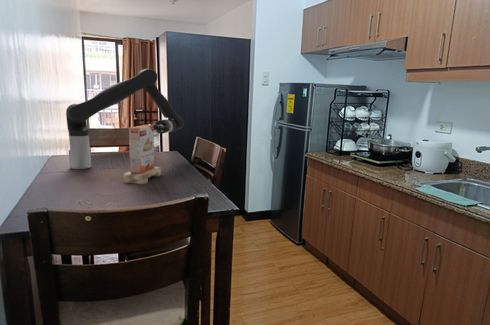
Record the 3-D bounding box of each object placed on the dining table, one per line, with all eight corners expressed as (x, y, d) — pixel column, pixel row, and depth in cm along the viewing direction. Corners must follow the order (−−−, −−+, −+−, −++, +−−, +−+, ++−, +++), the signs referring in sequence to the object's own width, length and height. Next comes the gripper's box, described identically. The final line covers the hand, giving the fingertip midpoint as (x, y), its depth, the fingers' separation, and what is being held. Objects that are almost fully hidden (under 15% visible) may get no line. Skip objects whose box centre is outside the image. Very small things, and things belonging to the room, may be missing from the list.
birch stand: (123, 182, 147) (123, 174, 146) (142, 173, 164) (142, 165, 163) (144, 184, 145) (143, 175, 144) (161, 174, 163) (161, 167, 162)
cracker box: (141, 174, 147) (140, 128, 143) (129, 173, 148) (127, 127, 144) (155, 167, 161) (154, 125, 156) (144, 166, 162) (142, 124, 157)
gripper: (152, 118, 183) (137, 120, 167) (175, 120, 180) (163, 122, 165) (152, 132, 184) (137, 135, 169) (175, 133, 182) (163, 137, 166)
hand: (150, 128), depth 167 cm, fingers open, 8 cm apart
